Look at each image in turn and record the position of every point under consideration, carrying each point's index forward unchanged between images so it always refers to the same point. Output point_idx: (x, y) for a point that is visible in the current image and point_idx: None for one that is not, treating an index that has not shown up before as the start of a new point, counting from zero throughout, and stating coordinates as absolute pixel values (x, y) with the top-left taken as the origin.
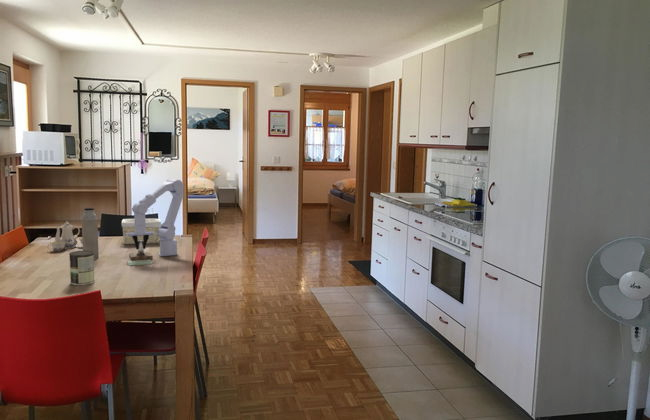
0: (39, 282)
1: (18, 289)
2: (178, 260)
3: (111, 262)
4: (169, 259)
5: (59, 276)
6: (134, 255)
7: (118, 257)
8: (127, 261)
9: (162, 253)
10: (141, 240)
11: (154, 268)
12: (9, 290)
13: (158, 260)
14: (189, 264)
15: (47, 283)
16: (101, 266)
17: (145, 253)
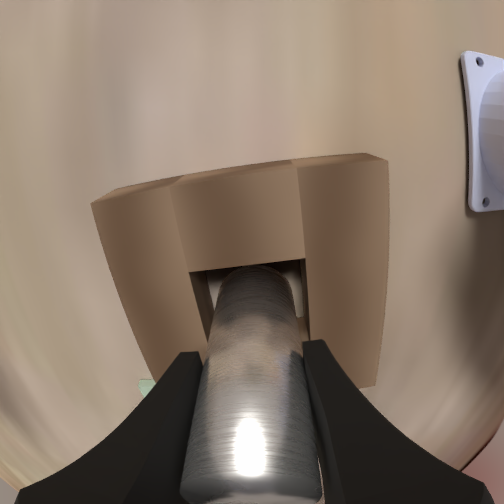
0: (7, 469)
1: (12, 483)
2: (501, 368)
3: (35, 343)
4: (479, 339)
5: (5, 452)
6: (179, 345)
7: (20, 156)
8: (145, 393)
9: (501, 185)
10: (274, 487)
11: (322, 490)
12: (4, 479)
13: (403, 364)
14: (485, 434)
15: (28, 483)
16: (38, 409)
17: (320, 261)
